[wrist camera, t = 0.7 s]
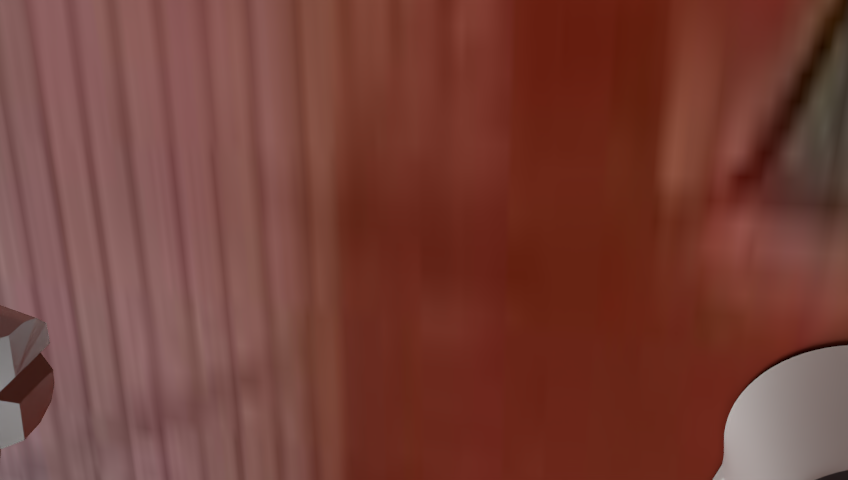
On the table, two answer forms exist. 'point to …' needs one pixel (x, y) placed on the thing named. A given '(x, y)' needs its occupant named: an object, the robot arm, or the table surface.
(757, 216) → the table surface
